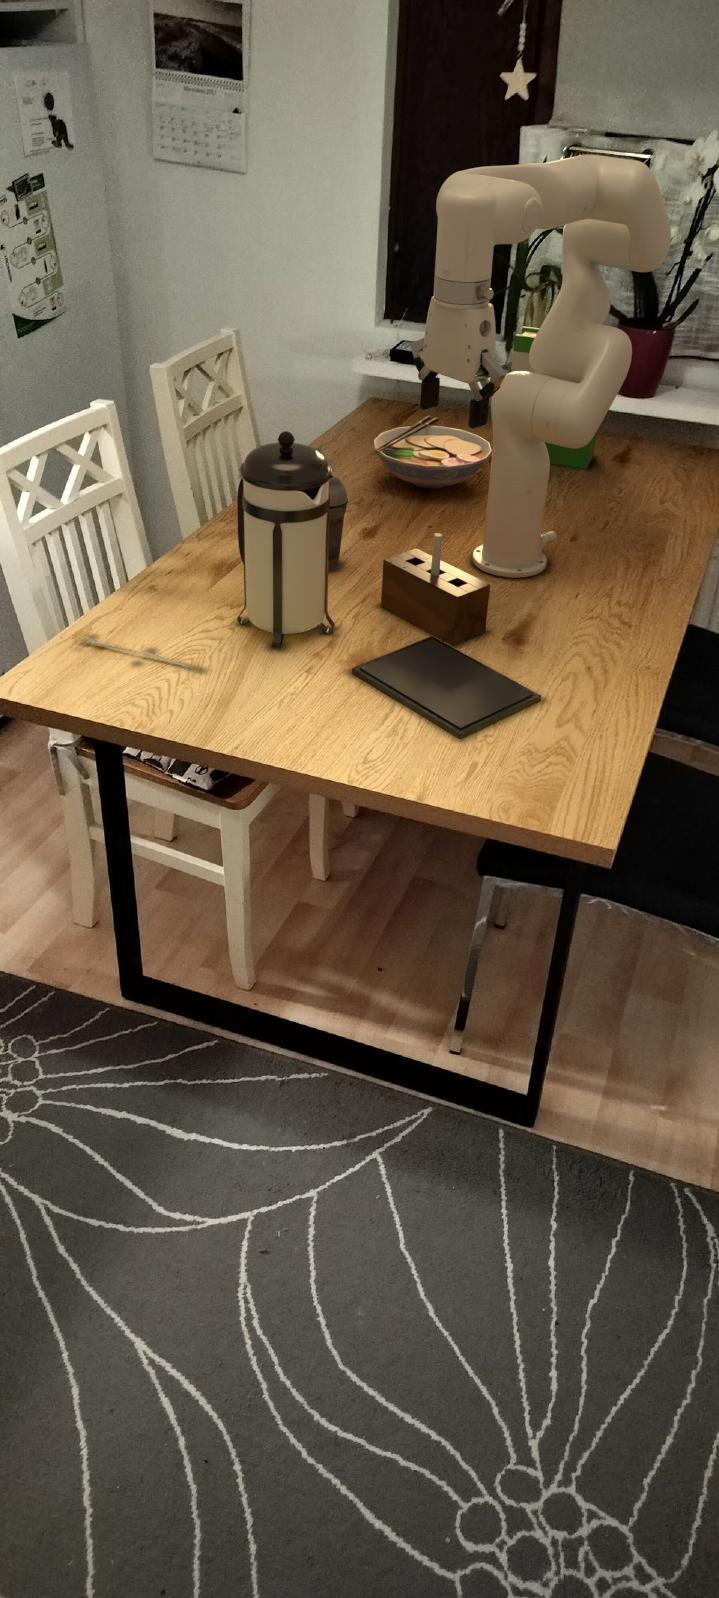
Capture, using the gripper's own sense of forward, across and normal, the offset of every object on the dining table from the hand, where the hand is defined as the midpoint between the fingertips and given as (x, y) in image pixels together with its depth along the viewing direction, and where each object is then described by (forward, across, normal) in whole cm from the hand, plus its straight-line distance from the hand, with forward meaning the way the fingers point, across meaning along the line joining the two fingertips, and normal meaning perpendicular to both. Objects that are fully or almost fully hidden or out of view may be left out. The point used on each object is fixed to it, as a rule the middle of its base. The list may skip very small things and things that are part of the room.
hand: (453, 416), depth 170 cm
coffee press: (+30, +11, +24) cm, 40 cm away
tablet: (+30, -18, +17) cm, 39 cm away
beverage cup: (+31, +23, +4) cm, 39 cm away
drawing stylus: (+30, -2, +4) cm, 31 cm away
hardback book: (+32, +35, -67) cm, 82 cm away
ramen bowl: (+32, +40, -37) cm, 63 cm away
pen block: (+30, -2, +4) cm, 31 cm away
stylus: (+30, +15, +46) cm, 56 cm away
